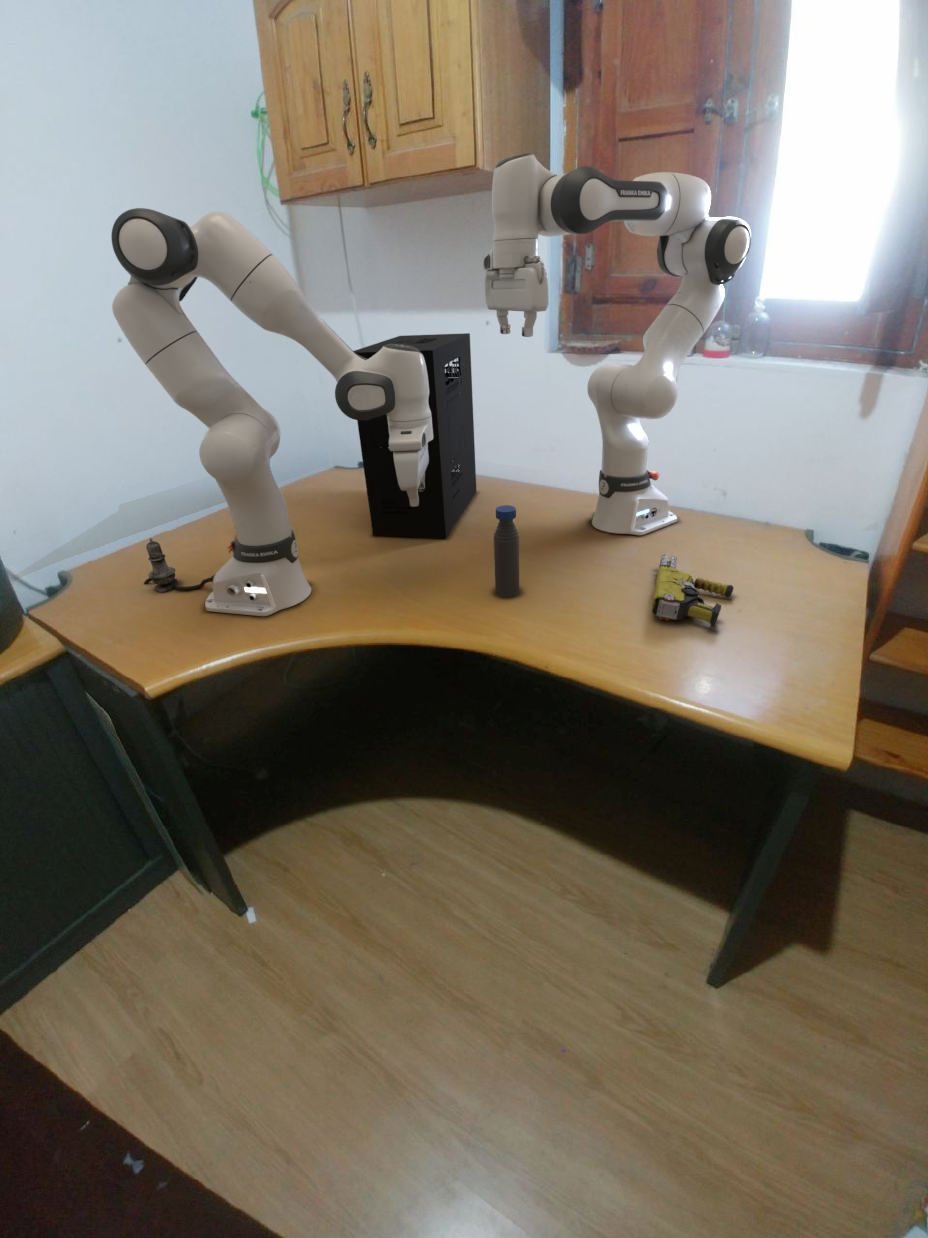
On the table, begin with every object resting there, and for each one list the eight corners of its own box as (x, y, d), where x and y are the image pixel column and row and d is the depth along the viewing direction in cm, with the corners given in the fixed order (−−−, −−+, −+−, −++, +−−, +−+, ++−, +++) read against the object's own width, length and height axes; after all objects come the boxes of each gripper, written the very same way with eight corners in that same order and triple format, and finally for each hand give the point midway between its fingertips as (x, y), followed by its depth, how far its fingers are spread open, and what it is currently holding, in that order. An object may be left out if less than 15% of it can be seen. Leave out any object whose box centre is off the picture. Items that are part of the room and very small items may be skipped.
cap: (520, 516, 121) (520, 507, 120) (506, 522, 118) (506, 513, 117) (505, 512, 123) (504, 503, 122) (491, 517, 121) (491, 509, 120)
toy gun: (733, 563, 128) (661, 551, 132) (740, 613, 108) (654, 597, 112) (728, 583, 130) (657, 571, 134) (732, 635, 110) (649, 619, 114)
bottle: (524, 591, 129) (524, 509, 120) (508, 600, 126) (507, 516, 117) (506, 584, 132) (504, 504, 123) (490, 593, 129) (487, 511, 120)
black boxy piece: (446, 538, 156) (432, 350, 134) (372, 535, 161) (348, 352, 138) (476, 491, 188) (469, 333, 165) (414, 490, 192) (399, 335, 170)
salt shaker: (170, 592, 137) (153, 544, 131) (147, 591, 138) (130, 543, 132) (185, 581, 142) (170, 533, 136) (163, 580, 143) (147, 532, 137)
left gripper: (403, 420, 131) (410, 483, 138) (386, 444, 113) (395, 514, 120) (432, 419, 130) (437, 482, 137) (420, 443, 112) (427, 513, 119)
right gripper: (557, 254, 111) (556, 336, 118) (505, 258, 127) (506, 331, 134) (528, 255, 109) (527, 339, 116) (478, 260, 125) (481, 333, 132)
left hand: (417, 497), depth 128 cm, fingers open, 8 cm apart
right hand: (516, 335), depth 125 cm, fingers open, 8 cm apart
